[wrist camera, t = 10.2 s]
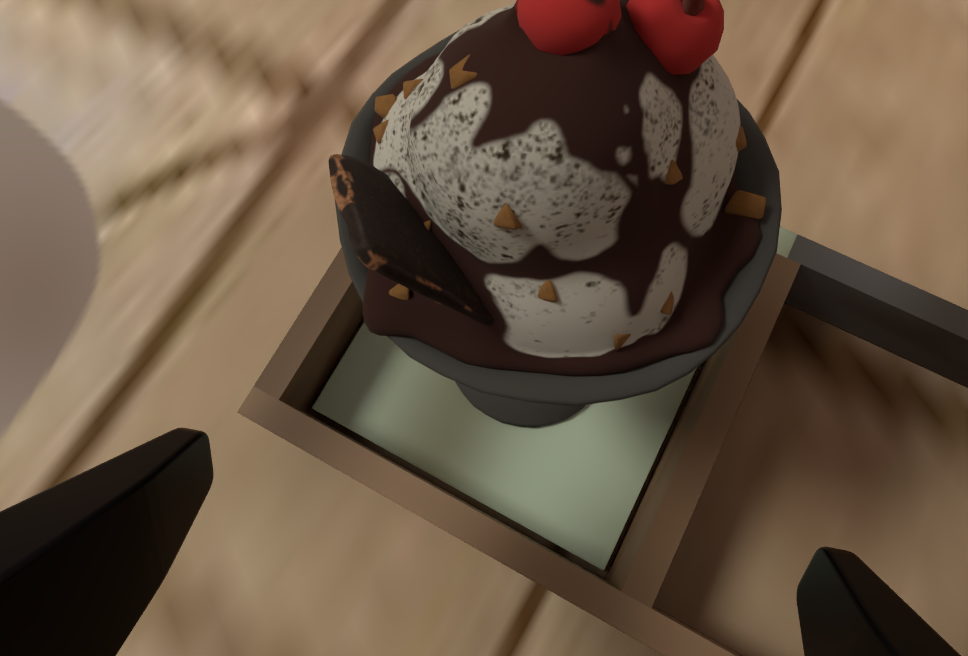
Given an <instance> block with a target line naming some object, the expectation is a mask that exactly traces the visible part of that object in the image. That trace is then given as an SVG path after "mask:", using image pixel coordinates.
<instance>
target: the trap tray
mask: <svg viewBox="0 0 968 656" xmlns="http://www.w3.org/2000/svg"><path fill="white" fill-rule="evenodd" d="M784 302H785V303H787V304H789V305H791V306H793V307H796V308H798V309H800V310H802V311H804V312H806V313H809V314H811V315H813V316H815V317H817V318H819V319H821V320H824V321H826V322H828V323H830V324H832V325H834V326H837V327H839V328H841V329H843V330H845V331H847V332H849V333H852V334H854V335H856V336H858V337H860V338H862V339H865V340H867V341H869V342H871V343H873V344H875V345H877V346H880V347H882V348H884V349H886V350H888V351H890V352H893V353H895V354H897V355H899V356H901V357H903V358H905V359H908V360H910V361H912V362H914V363H916V364H918V365H921V366H923V367H925V368H927V369H929V370H931V371H933V372H936V373H938V374H940V375H942V376H944V377H946V378H949V379H951V380H953V381H955V382H957V383H959V384H961V385H964V386H966V387H968V310H966V309H964V308H962V307H959V306H957V305H955V304H953V303H951V302H948V301H946V300H944V299H942V298H939V297H937V296H935V295H933V294H930V293H928V292H926V291H924V290H921V289H919V288H917V287H915V286H912V285H910V284H908V283H906V282H903V281H901V280H899V279H897V278H894V277H892V276H890V275H888V274H885V273H883V272H881V271H879V270H876V269H874V268H872V267H870V266H868V265H865V264H863V263H861V262H859V261H856V260H854V259H852V258H850V257H847V256H845V255H843V254H841V253H838V252H836V251H834V250H832V249H829V248H827V247H825V246H823V245H820V244H818V243H816V242H814V241H811V240H809V239H807V238H805V237H802V236H800V235H798V234H796V233H794V232H791V231H789V230H787V229H785V228H782V227H780V229H779V238H778V247H777V253H776V255H775V257H774V260H773V262H772V264H771V267H770V269H769V272H768V274H767V276H766V279H765V281H764V284H763V286H762V288H761V291H760V293H759V295H758V296H757V298H756V300H755V301H754V303H753V305H752V307H751V308H750V310H749V312H748V314H747V315H746V317H745V319H744V320H743V322H742V324H741V325H740V327H739V328H738V329H737V330H736V331H735V332H734V333H733V334H732V335H731V336H730V338H729V339H728V340H727V341H726V342H725V343H724V344H723V345H722V346H721V347H720V349H719V350H718V351H717V352H716V353H715V354H714V355H712V356H711V357H710V358H709V359H707V360H706V361H705V362H704V364H703V366H702V368H701V370H700V372H699V375H698V377H697V379H696V381H695V383H694V386H693V388H692V390H691V392H690V394H689V397H688V399H687V401H686V403H685V405H684V408H683V410H682V412H681V414H680V416H679V419H678V421H677V423H676V425H675V427H674V429H673V432H672V434H671V436H670V438H669V440H668V443H667V445H666V447H665V449H664V451H663V454H662V456H661V458H660V460H659V462H658V465H657V467H656V469H655V471H654V473H653V475H652V478H651V480H650V482H649V484H648V486H647V489H646V491H645V493H644V495H643V497H642V500H641V502H640V504H639V506H638V508H637V511H636V513H635V515H634V517H633V519H632V522H631V524H630V526H629V528H628V530H627V532H626V535H625V537H624V539H623V541H622V543H621V546H620V548H619V550H618V552H617V554H616V557H615V559H614V561H613V563H612V565H611V568H610V570H609V572H608V574H607V576H606V578H605V579H603V578H601V577H599V576H598V575H596V574H594V573H592V572H590V571H589V570H587V569H585V568H583V567H581V566H580V565H578V564H576V563H574V562H572V561H571V560H569V559H567V558H565V557H564V556H562V555H560V554H558V553H556V552H555V551H553V550H551V549H549V548H547V547H546V546H544V545H542V544H540V543H538V542H537V541H535V540H533V539H531V538H530V537H528V536H526V535H524V534H522V533H521V532H519V531H517V530H515V529H513V528H512V527H510V526H508V525H506V524H504V523H503V522H501V521H499V520H497V519H496V518H494V517H492V516H490V515H488V514H487V513H485V512H483V511H481V510H479V509H478V508H476V507H474V506H472V505H470V504H469V503H467V502H465V501H463V500H462V499H460V498H458V497H456V496H454V495H453V494H451V493H449V492H447V491H445V490H444V489H442V488H440V487H438V486H436V485H435V484H433V483H431V482H429V481H428V480H426V479H424V478H422V477H420V476H419V475H417V474H415V473H413V472H411V471H410V470H408V469H406V468H404V467H402V466H401V465H399V464H397V463H395V462H394V461H392V460H390V459H388V458H386V457H385V456H383V455H381V454H379V453H377V452H376V451H374V450H372V449H370V448H368V447H367V446H365V445H363V444H361V443H360V442H358V441H356V440H354V439H352V438H351V437H349V436H347V435H345V434H343V433H342V432H340V431H338V430H336V429H334V428H333V427H331V426H329V425H327V424H326V423H324V422H322V421H320V420H318V419H317V418H315V417H313V416H311V415H309V414H308V413H307V411H308V410H309V408H310V406H311V405H312V403H313V402H314V400H315V398H316V397H317V395H318V393H319V392H320V390H321V388H322V387H323V385H324V383H325V382H326V380H327V378H328V377H329V375H330V373H331V372H332V370H333V369H334V367H335V365H336V364H337V362H338V360H339V359H340V357H341V355H342V354H343V352H344V350H345V349H346V347H347V345H348V344H349V342H350V340H351V339H352V337H353V335H354V334H355V332H356V331H357V329H358V327H359V326H360V324H361V322H362V321H363V319H364V317H363V302H362V300H361V298H360V296H359V294H358V292H357V290H356V288H355V286H354V284H353V282H352V280H351V278H350V276H349V273H348V269H347V265H346V261H345V257H344V253H343V249H342V248H341V249H340V251H339V252H338V254H337V256H336V257H335V259H334V260H333V262H332V264H331V265H330V267H329V268H328V270H327V271H326V273H325V275H324V276H323V278H322V279H321V281H320V282H319V284H318V286H317V287H316V289H315V290H314V292H313V294H312V295H311V297H310V298H309V300H308V301H307V303H306V305H305V306H304V308H303V309H302V311H301V312H300V314H299V316H298V317H297V319H296V320H295V322H294V324H293V325H292V327H291V328H290V330H289V331H288V333H287V335H286V336H285V338H284V339H283V341H282V342H281V344H280V346H279V347H278V349H277V350H276V352H275V353H274V355H273V357H272V358H271V360H270V361H269V363H268V365H267V366H266V368H265V369H264V371H263V372H262V374H261V376H260V377H259V379H258V380H257V382H256V383H255V385H254V387H253V388H252V390H251V391H250V393H249V395H248V396H247V398H246V399H245V401H244V402H243V404H242V406H241V407H240V409H239V410H238V412H237V413H239V414H241V415H243V416H244V417H246V418H248V419H250V420H251V421H253V422H255V423H257V424H258V425H260V426H262V427H264V428H265V429H267V430H269V431H271V432H272V433H274V434H276V435H278V436H279V437H281V438H283V439H285V440H286V441H288V442H290V443H292V444H293V445H295V446H297V447H299V448H301V449H302V450H304V451H306V452H308V453H309V454H311V455H313V456H315V457H316V458H318V459H320V460H322V461H323V462H325V463H327V464H329V465H330V466H332V467H334V468H336V469H337V470H339V471H341V472H343V473H344V474H346V475H348V476H350V477H351V478H353V479H355V480H357V481H358V482H360V483H362V484H364V485H365V486H367V487H369V488H371V489H372V490H374V491H376V492H378V493H379V494H381V495H383V496H385V497H386V498H388V499H390V500H392V501H394V502H395V503H397V504H399V505H401V506H402V507H404V508H406V509H408V510H409V511H411V512H413V513H415V514H416V515H418V516H420V517H422V518H423V519H425V520H427V521H429V522H430V523H432V524H434V525H436V526H437V527H439V528H441V529H443V530H444V531H446V532H448V533H450V534H451V535H453V536H455V537H457V538H458V539H460V540H462V541H464V542H465V543H467V544H469V545H471V546H472V547H474V548H476V549H478V550H479V551H481V552H483V553H485V554H486V555H488V556H490V557H492V558H494V559H495V560H497V561H499V562H501V563H502V564H504V565H506V566H508V567H509V568H511V569H513V570H515V571H516V572H518V573H520V574H522V575H523V576H525V577H527V578H529V579H530V580H532V581H534V582H536V583H537V584H539V585H541V586H543V587H544V588H546V589H548V590H550V591H551V592H553V593H555V594H557V595H558V596H560V597H562V598H564V599H565V600H567V601H569V602H571V603H572V604H574V605H576V606H578V607H579V608H581V609H583V610H585V611H587V612H588V613H590V614H592V615H594V616H595V617H597V618H599V619H601V620H602V621H604V622H606V623H608V624H609V625H611V626H613V627H615V628H616V629H618V630H620V631H622V632H623V633H625V634H627V635H629V636H630V637H632V638H634V639H636V640H637V641H639V642H641V643H643V644H644V645H646V646H648V647H650V648H651V649H653V650H655V651H657V652H658V653H660V654H662V655H664V656H741V655H739V654H737V653H735V652H733V651H732V650H730V649H728V648H726V647H725V646H723V645H721V644H719V643H717V642H716V641H714V640H712V639H710V638H708V637H707V636H705V635H703V634H701V633H699V632H698V631H696V630H694V629H692V628H691V627H689V626H687V625H685V624H683V623H682V622H680V621H678V620H676V619H674V618H673V617H671V616H669V615H667V614H666V613H664V612H662V611H660V610H658V609H657V608H655V607H653V603H654V601H655V599H656V597H657V594H658V592H659V590H660V587H661V585H662V583H663V580H664V578H665V576H666V574H667V571H668V569H669V567H670V564H671V562H672V560H673V557H674V555H675V553H676V551H677V548H678V546H679V544H680V541H681V539H682V537H683V534H684V532H685V530H686V528H687V525H688V523H689V521H690V518H691V516H692V514H693V511H694V509H695V507H696V504H697V502H698V500H699V498H700V495H701V493H702V491H703V488H704V486H705V484H706V481H707V479H708V477H709V475H710V472H711V470H712V468H713V465H714V463H715V461H716V458H717V456H718V454H719V452H720V449H721V447H722V445H723V442H724V440H725V438H726V435H727V433H728V431H729V428H730V426H731V424H732V422H733V419H734V417H735V415H736V412H737V410H738V408H739V405H740V403H741V401H742V399H743V396H744V394H745V392H746V389H747V387H748V385H749V382H750V380H751V378H752V376H753V373H754V371H755V369H756V366H757V364H758V362H759V359H760V357H761V355H762V352H763V350H764V348H765V346H766V343H767V341H768V339H769V336H770V334H771V332H772V329H773V327H774V325H775V323H776V320H777V318H778V316H779V313H780V311H781V309H782V306H783V304H784ZM695 371H696V369H695V370H693V371H692V372H691V373H690V374H688V375H686V376H684V377H683V378H681V379H679V380H677V381H675V382H673V383H671V384H669V385H667V386H665V387H663V388H661V389H659V390H658V391H655V392H651V393H647V394H643V395H639V396H635V397H631V398H627V399H623V400H617V401H609V402H602V403H595V404H587V405H586V406H584V407H583V408H582V409H581V410H580V411H578V412H577V413H575V414H574V415H572V416H571V417H569V418H568V419H566V420H563V421H560V422H557V423H554V424H551V425H546V426H541V427H535V428H533V427H520V426H514V425H509V424H504V423H501V422H499V421H497V420H495V419H493V418H491V417H489V416H487V415H486V414H484V413H483V412H481V411H480V410H478V409H477V408H475V407H474V406H473V405H472V404H471V403H470V402H469V400H468V399H467V398H466V397H465V396H464V395H463V393H462V392H461V390H460V389H459V387H458V386H457V384H456V382H455V381H453V380H451V379H448V378H446V377H444V376H442V375H440V374H438V373H436V372H434V371H433V370H431V369H429V368H427V367H426V366H424V365H422V364H420V363H419V362H417V361H415V360H413V359H412V358H410V357H409V356H408V355H407V354H406V353H404V352H403V351H402V350H401V349H400V348H399V347H398V346H397V345H396V344H395V343H394V342H393V341H392V340H391V339H389V338H388V337H387V336H379V335H376V334H374V333H371V332H370V331H369V329H368V328H367V326H366V325H365V323H363V324H362V326H361V328H360V329H359V331H358V333H357V334H356V336H355V338H354V339H353V341H352V343H351V344H350V346H349V348H348V349H347V351H346V353H345V354H344V356H343V358H342V359H341V361H340V362H339V364H338V366H337V367H336V369H335V371H334V372H333V374H332V376H331V377H330V379H329V381H328V382H327V384H326V386H325V387H324V389H323V391H322V392H321V394H320V396H319V397H318V399H317V401H316V402H315V404H314V405H313V407H312V409H314V410H316V411H318V412H319V413H321V414H323V415H325V416H326V417H328V418H330V419H332V420H334V421H335V422H337V423H339V424H341V425H343V426H344V427H346V428H348V429H350V430H352V431H353V432H355V433H357V434H359V435H361V436H362V437H364V438H366V439H368V440H370V441H371V442H373V443H375V444H377V445H379V446H380V447H382V448H384V449H386V450H388V451H389V452H391V453H393V454H395V455H397V456H398V457H400V458H402V459H404V460H406V461H407V462H409V463H411V464H413V465H415V466H416V467H418V468H420V469H422V470H423V471H425V472H427V473H429V474H431V475H432V476H434V477H436V478H438V479H440V480H441V481H443V482H445V483H447V484H449V485H450V486H452V487H454V488H456V489H458V490H459V491H461V492H463V493H465V494H467V495H468V496H470V497H472V498H474V499H476V500H477V501H479V502H481V503H483V504H485V505H486V506H488V507H490V508H492V509H494V510H495V511H497V512H499V513H501V514H503V515H504V516H506V517H508V518H510V519H512V520H513V521H515V522H517V523H519V524H520V525H522V526H524V527H526V528H528V529H529V530H531V531H533V532H535V533H537V534H538V535H540V536H542V537H544V538H546V539H547V540H549V541H551V542H553V543H555V544H556V545H558V546H560V547H562V548H564V549H565V550H567V551H569V552H571V553H573V554H574V555H576V556H578V557H580V558H582V559H583V560H585V561H587V562H589V563H591V564H592V565H594V566H596V567H598V568H600V569H601V570H603V571H604V569H605V567H606V565H607V563H608V560H609V558H610V556H611V554H612V552H613V550H614V547H615V545H616V543H617V541H618V539H619V536H620V534H621V532H622V530H623V528H624V526H625V523H626V521H627V519H628V517H629V515H630V512H631V510H632V508H633V506H634V504H635V502H636V499H637V497H638V495H639V493H640V491H641V488H642V486H643V484H644V482H645V480H646V478H647V475H648V473H649V471H650V469H651V467H652V464H653V462H654V460H655V458H656V456H657V454H658V451H659V449H660V447H661V445H662V443H663V440H664V438H665V436H666V434H667V432H668V430H669V427H670V425H671V423H672V421H673V419H674V416H675V414H676V412H677V410H678V408H679V406H680V403H681V401H682V399H683V397H684V395H685V392H686V390H687V388H688V386H689V384H690V382H691V379H692V377H693V375H694V373H695Z"/></svg>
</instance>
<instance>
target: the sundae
mask: <svg viewBox="0 0 968 656" xmlns="http://www.w3.org/2000/svg"><path fill="white" fill-rule="evenodd" d="M723 30H724V10H723V8H722V5H721V3H720V1H719V0H517V1H516V3H515V4H511V5H508V6H505V7H502V8H499V9H496V10H493V11H490V12H488V13H486V14H484V15H482V16H481V17H479V18H477V19H475V20H474V21H472V22H470V23H468V24H467V25H465V26H463V27H462V28H461V29H460V30H458V31H457V32H455V33H453V34H452V35H450V36H448V37H447V38H445V39H443V40H441V41H440V42H438V43H437V44H435V45H434V46H432V47H431V48H429V49H427V50H426V51H424V52H423V53H421V54H420V55H418V56H417V57H415V58H414V59H412V60H411V61H409V62H408V63H407V64H405V65H404V66H402V67H401V68H399V69H398V70H397V71H395V72H394V73H392V74H391V75H390V76H389V77H388V78H387V79H386V80H385V81H384V83H383V84H382V85H381V86H380V87H379V88H378V89H377V90H376V91H375V92H374V93H373V94H372V95H371V97H370V98H369V99H368V101H367V102H366V104H365V105H364V106H363V108H362V109H361V111H360V112H359V114H358V115H357V116H356V118H355V119H354V121H353V122H352V123H351V127H350V130H349V133H348V136H347V139H346V142H345V145H344V148H343V152H342V155H338V154H335V155H331V156H330V158H329V169H330V178H331V184H332V189H333V193H334V197H335V205H336V212H337V220H338V228H339V236H340V242H341V245H342V249H343V253H344V257H345V261H346V265H347V269H348V273H349V276H350V278H351V280H352V282H353V284H354V286H355V288H356V290H357V292H358V294H359V296H360V298H361V300H362V302H363V317H364V323H365V325H366V326H367V328H368V329H369V331H370V332H371V333H374V334H376V335H379V336H387V337H388V338H389V339H391V340H392V341H393V342H394V343H395V344H396V345H397V346H398V347H399V348H400V349H401V350H402V351H403V352H404V353H406V354H407V355H408V356H409V357H410V358H412V359H413V360H415V361H417V362H419V363H420V364H422V365H424V366H426V367H427V368H429V369H431V370H433V371H434V372H436V373H438V374H440V375H442V376H444V377H446V378H448V379H451V380H453V381H455V382H456V384H457V386H458V387H459V389H460V390H461V392H462V393H463V395H464V396H465V397H466V398H467V399H468V400H469V402H470V403H471V404H472V405H473V406H474V407H475V408H477V409H478V410H480V411H481V412H483V413H484V414H486V415H487V416H489V417H491V418H493V419H495V420H497V421H499V422H501V423H504V424H509V425H514V426H520V427H533V428H535V427H541V426H546V425H551V424H554V423H557V422H560V421H563V420H566V419H568V418H569V417H571V416H572V415H574V414H575V413H577V412H578V411H580V410H581V409H582V408H583V407H584V406H586V405H587V404H595V403H602V402H609V401H617V400H623V399H627V398H631V397H635V396H639V395H643V394H647V393H651V392H655V391H658V390H659V389H661V388H663V387H665V386H667V385H669V384H671V383H673V382H675V381H677V380H679V379H681V378H683V377H684V376H686V375H688V374H690V373H691V372H692V371H693V370H695V369H696V368H697V367H698V366H700V365H701V364H702V363H704V362H705V361H706V360H707V359H709V358H710V357H711V356H712V355H714V354H715V353H716V352H717V351H718V350H719V349H720V347H721V346H722V345H723V344H724V343H725V342H726V341H727V340H728V339H729V338H730V336H731V335H732V334H733V333H734V332H735V331H736V330H737V329H738V328H739V327H740V325H741V324H742V322H743V320H744V319H745V317H746V315H747V314H748V312H749V310H750V308H751V307H752V305H753V303H754V301H755V300H756V298H757V296H758V295H759V293H760V291H761V288H762V286H763V284H764V281H765V279H766V276H767V274H768V272H769V269H770V267H771V264H772V262H773V260H774V257H775V255H776V253H777V247H778V238H779V229H780V220H781V211H782V208H781V194H780V179H779V171H778V168H777V166H776V163H775V161H774V158H773V156H772V154H771V151H770V149H769V146H768V144H767V142H766V139H765V137H764V135H763V134H762V132H761V131H760V129H759V127H758V126H757V124H756V123H755V121H754V119H753V118H752V116H751V114H750V113H749V112H748V111H747V109H746V108H745V107H744V106H743V105H742V104H741V103H740V102H739V101H738V100H737V99H736V96H735V92H734V90H733V88H732V85H731V83H730V81H729V78H728V76H727V75H726V73H725V72H724V70H723V69H722V67H721V65H720V64H719V62H718V61H717V60H716V58H715V57H714V55H713V54H714V53H715V52H716V51H717V50H718V47H719V43H720V40H721V37H722V33H723Z"/></svg>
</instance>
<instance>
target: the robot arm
mask: <svg viewBox="0 0 968 656" xmlns="http://www.w3.org/2000/svg"><path fill="white" fill-rule="evenodd" d="M212 481H213V465H212V458H211V450H210V443H209V438H208V436H207V434H206V433H204V432H203V431H198V430H193V429H188V428H177V429H174V430H172V431H170V432H167V433H165V434H163V435H161V436H159V437H157V438H155V439H153V440H151V441H148V442H146V443H144V444H142V445H140V446H138V447H136V448H134V449H132V450H129V451H127V452H125V453H123V454H121V455H119V456H117V457H115V458H113V459H110V460H108V461H106V462H104V463H102V464H100V465H98V466H96V467H94V468H91V469H89V470H87V471H85V472H83V473H81V474H79V475H77V476H75V477H72V478H70V479H68V480H66V481H64V482H62V483H60V484H58V485H56V486H53V487H51V488H49V489H47V490H45V491H43V492H41V493H39V494H37V495H34V496H32V497H30V498H28V499H26V500H24V501H22V502H20V503H18V504H16V505H13V506H11V507H9V508H7V509H5V510H3V511H1V512H0V656H116V654H117V653H118V651H119V650H120V648H121V647H122V645H123V643H124V642H125V640H126V639H127V637H128V636H129V634H130V632H131V631H132V629H133V628H134V626H135V625H136V623H137V622H138V620H139V618H140V617H141V615H142V614H143V612H144V611H145V609H146V607H147V606H148V604H149V603H150V601H151V600H152V598H153V596H154V595H155V593H156V592H157V590H158V588H159V587H160V585H161V583H162V582H163V580H164V578H165V577H166V575H167V573H168V571H169V569H170V567H171V565H172V564H173V562H174V560H175V558H176V556H177V554H178V552H179V550H180V548H181V546H182V544H183V542H184V540H185V538H186V536H187V534H188V532H189V530H190V528H191V526H192V524H193V522H194V520H195V518H196V516H197V514H198V512H199V510H200V508H201V506H202V504H203V502H204V500H205V498H206V496H207V494H208V492H209V490H210V487H211V485H212ZM797 607H798V614H799V621H800V628H801V634H802V641H803V648H804V655H805V656H961V655H960V654H959V653H958V652H956V651H955V650H954V649H953V648H952V647H951V646H950V645H949V644H948V643H947V642H946V641H945V640H944V639H943V638H942V637H941V636H940V635H939V634H938V633H937V632H936V631H935V630H934V629H933V628H931V627H930V626H929V625H928V624H927V623H926V622H925V621H924V620H923V619H922V618H921V617H920V616H919V615H918V614H917V613H916V612H915V611H914V610H913V609H912V608H911V607H910V606H909V605H908V604H906V603H905V602H904V601H903V600H902V599H901V598H900V597H899V596H898V595H897V594H896V593H895V592H894V591H893V590H892V589H891V588H890V587H889V586H888V585H887V584H886V583H885V582H884V581H883V580H881V579H880V578H879V577H878V576H877V575H876V574H875V573H874V572H873V571H872V570H871V569H870V568H869V567H868V566H867V565H866V564H865V563H864V562H863V561H862V560H861V559H860V558H859V557H857V556H856V555H855V554H854V553H852V552H849V551H846V550H841V549H835V548H830V547H821V548H819V549H818V550H817V551H816V552H815V554H814V556H813V558H812V560H811V562H810V563H809V565H808V567H807V569H806V571H805V573H804V575H803V577H802V579H801V581H800V582H799V585H798V589H797Z"/></svg>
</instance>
